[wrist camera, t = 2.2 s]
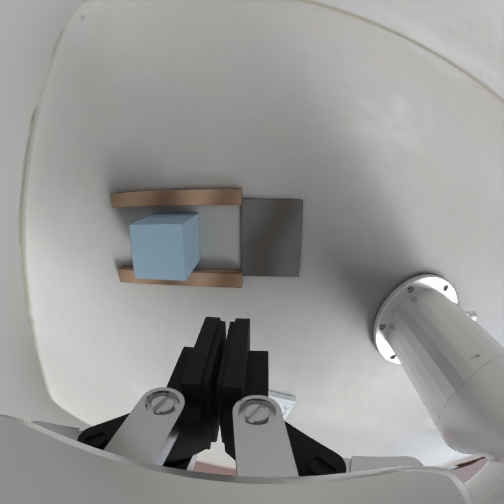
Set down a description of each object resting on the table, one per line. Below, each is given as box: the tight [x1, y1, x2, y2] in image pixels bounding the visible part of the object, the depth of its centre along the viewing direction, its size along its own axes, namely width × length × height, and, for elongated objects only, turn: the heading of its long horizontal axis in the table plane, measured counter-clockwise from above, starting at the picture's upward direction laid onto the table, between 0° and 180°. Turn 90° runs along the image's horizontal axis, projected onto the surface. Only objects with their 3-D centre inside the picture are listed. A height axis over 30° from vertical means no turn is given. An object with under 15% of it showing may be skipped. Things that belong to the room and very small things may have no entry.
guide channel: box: [111, 189, 303, 288], centre depth 29 cm, size 20×10×1 cm, turn 90°
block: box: [129, 213, 200, 281], centre depth 27 cm, size 5×5×6 cm
